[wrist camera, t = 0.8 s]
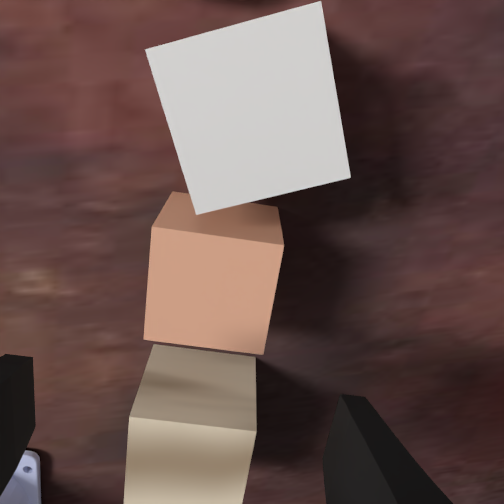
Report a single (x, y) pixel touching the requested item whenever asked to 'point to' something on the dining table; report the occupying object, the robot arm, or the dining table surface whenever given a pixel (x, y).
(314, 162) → the white cube
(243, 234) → the terracotta cube
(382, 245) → the dining table surface
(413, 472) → the robot arm
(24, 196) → the dining table surface
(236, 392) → the birch cube
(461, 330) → the dining table surface
